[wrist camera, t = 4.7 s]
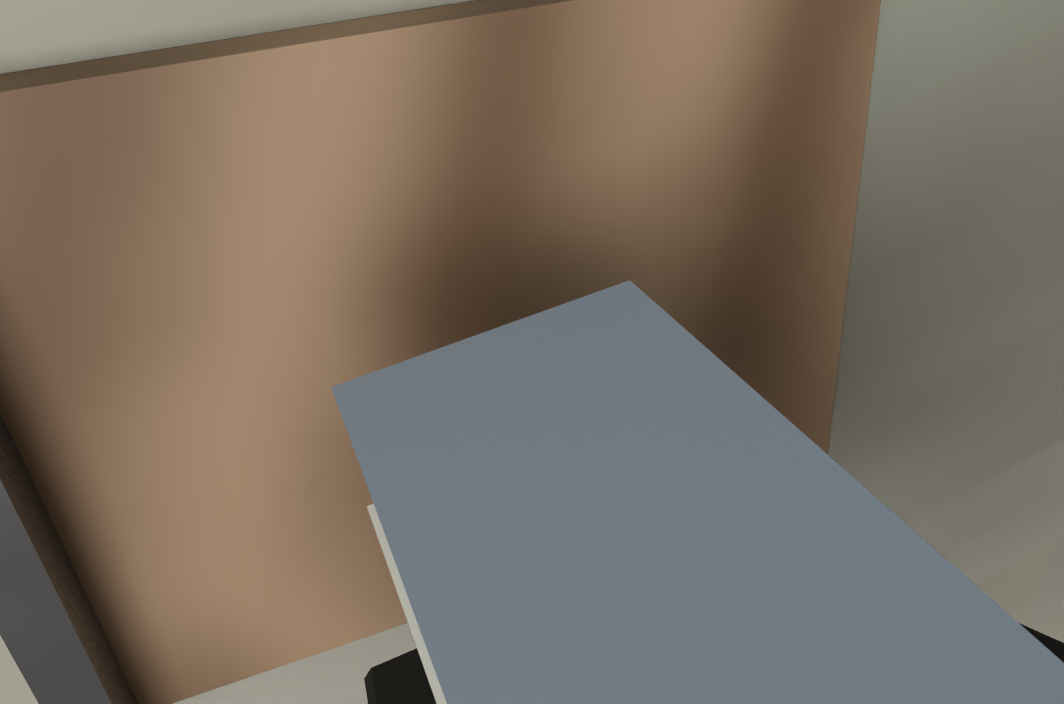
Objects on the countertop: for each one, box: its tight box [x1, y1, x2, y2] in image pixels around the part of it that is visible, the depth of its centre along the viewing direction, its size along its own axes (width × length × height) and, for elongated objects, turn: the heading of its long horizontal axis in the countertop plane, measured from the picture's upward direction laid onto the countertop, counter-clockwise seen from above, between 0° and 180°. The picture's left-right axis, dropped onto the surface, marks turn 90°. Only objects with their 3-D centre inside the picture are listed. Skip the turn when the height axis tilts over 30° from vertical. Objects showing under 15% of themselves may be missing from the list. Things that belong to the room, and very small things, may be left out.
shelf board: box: [0, 0, 881, 704], centre depth 17 cm, size 16×12×1 cm
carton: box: [331, 280, 1064, 704], centre depth 10 cm, size 4×6×7 cm
